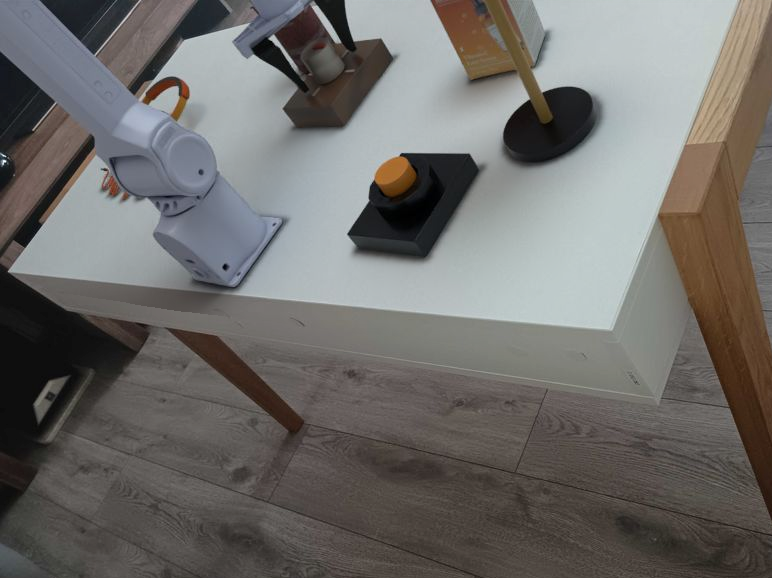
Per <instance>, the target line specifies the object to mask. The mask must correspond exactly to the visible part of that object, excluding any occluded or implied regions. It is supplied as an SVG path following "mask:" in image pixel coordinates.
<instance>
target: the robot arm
mask: <svg viewBox="0 0 772 578" xmlns="http://www.w3.org/2000/svg"><path fill="white" fill-rule="evenodd" d="M250 1H251V2H252V4H253V5H254V6H253V5H252V4H251V5H252V6H253V8H254V7H255V8H256V9H257V10H256V9H255V8H254V9H255V10H256V12H257V11H258V12H259V13H258V12H257V15H256V16H255V17H254V19H252V20H251V22H250V23H249V24H248V25H247V26H246V27H245V28H244V29H243V30H242V31H241V32H240V34H238V35H237V36H236V37H235V38H234V39H233V40H232V41H231V43H232V44H233V46H234V47H235V48H236V49H237V51H238V52H239V54H240V55H241V56H242V57H243V58H245V59H246V60H248V59H250V58H251V57H252V56H253V55H254V56H255V57H257V58H258V59H259V60H261V61H263V62H265V64H268V65H269V66H271V67H273V68H275V69H276V70H277V71H279V72H281V73H282V74H283V75H284V76H286V77H287V78H288V80H290V81H291V82H292V83H293V84H294V85H295V86H296V87H297V89H298V88H299V89H300V90H301V91H303V92H304V93H306V92H307V91H308V90H309V88H308V87H307V85H306V84H305V82H304V80H303V79H302V78H301V76H300V75H299V74H298V73H297V71H296V70H295V69H294V67H293V66H292V65H291V62H290V61H289V60H288V58H287V57H286V55H285V54H284V52H283V50H282V49H281V47H280V46H278V45H276V44H275V43H274V41H273V40H271V39H270V38H271V37H273V36H275V35H274V34H275V33H276V32H277V31H278V30H280V29H281V28H282V27H283V26H284V25H285V24H287V23H288V22H289V21H290V20H291V19H293V18H294V17H296V16H297V15H298V14H299V13H300V12H302V11H303V10H304V9H305V8H306V7H307V6H308V5H309V4H310V5H311V4H312V3H313V2H314V4H316V6H317V7H318V9H319V10H320V12H321V13H322V14H323V16H324V17H325V18H326V20H328V23H329V24H330V26H331V27H332V29H333V30H334V32H335V35H336V36H337V37H338V39H339V41H340V43H342V44H343V45H344V46H345V48H346V49H347V50H349V51H351V52H354V51H356V50H357V48H356V46H355V43H354V41H355V40H354V39H353V35H352V32H351V29H350V25H349V22H348V17H347V10H346V9H347V8H346V0H250ZM250 1H249V2H250ZM251 2H250V3H251ZM0 53H1V54H2V55H3V56H4V57H6V58H7V59H8V60H9V61H10V62H11V63H12V64H13V65H14V66H15V67H17V68H18V69H19V70H20V71H21V72H22V73H23V74H24V75H25V76H27V77H28V78H29V79H30V81H32V82H33V83H34V84H36V86H38V88H39V89H41V90H42V91H43V92H44V93H45V94H46V95H48V97H49V98H51V99H52V100H53V101H54V102H55V103H56V104H57V105H59V106H60V107H61V108H62V109H63V110H64V111H65V112H66V113H67V114H68V115H70V117H72V118H73V119H74V120H75V121H76V122H77V123H79V125H81V126H82V127H83V128H84V129H85V130H86V131H87V132H88V134H90V135H92V136H93V138H94V154H95V155H96V156H97V157H98V158H99V159H100V160H102V162H103V163H104V164H105V165H106V166H107V169H108V170H109V172H110V173H111V176H113V177H112V178H114V182H116V183H117V185H118V186H119V187H120V188H119V189H121V190H122V191H123V192H124V193H125V192H126V193H128V195H130V196H132V197H134V198H137V197H138V198H139V199H147V200H149V202H150V203H152V204H153V206H154V208H155V209H156V210H157V211H158V212H159V213H160V216H159V220H158V223H157V225H156V227H155V229H154V230H153V232H152V236H153V238H154V240H155V241H156V243H157V244H158V245H159V246H160V247H161V248H162V249H163V250H165V252H166V253H167V254H169V255H170V256H171V257H172V258H173V259H174V260H176V261H177V262H178V263H179V264H180V265H181V266H182V267H183V268H184V269H185V270H186V271H188V272H189V274H191V275H192V279H194V280H195V281H199V282H204V283H209V284H215V285H219V286H225V287H231V288H235V287H238V285H239V284H240V283H241V282H242V280H243V278H244V277H245V276H246V274H247V273H248V271H249V270H250V269H251V267H252V266H253V264H255V262H256V260H257V259H258V258H259V256H260V255H261V253H262V252H263V250H264V249H265V247H266V246H267V245H268V243H269V242H270V241H271V239H272V238H273V237H274V235H275V234H276V232H277V231H278V230H279V228H280V227H281V225H282V224H283V220H282V218H280V217H272V216H263V215H262V216H261V215H259V214H258V213H257V212H256V210H254V209H253V208H252V206H250V205H249V204H248V202H247V201H246V200H245V199H244V198H243V197H242V196H241V195H240V193H239V192H238V191H237V190H236V189H235V188H234V187H233V186H232V185H231V184H230V183H229V181H228V180H226V179H225V177H224V176H223V175H222V174H221V172H220V171H219V170H218V165H217V163H218V162H217V158H216V154H215V151H214V149H213V148H212V146H211V144H210V143H209V141H208V140H207V139H206V138H205V137H204V136H203V135H201V134H199V133H197V132H196V131H194V130H191V129H188V128H186V127H184V126H182V125H181V124H180V123H178V121H177V122H176V121H175V120H174V119H173V118H172V117H171V114H169V113H168V114H169V115H168V114H166V113H167V112H166V113H164V112H165V111H164V112H162V111H163V110H161V111H160V109H157V108H155V107H153V106H151V105H150V104H149V105H146V104H144V103H142V102H141V101H140V100H139V99H138V98H137V97H136V96H135V95H134V94H133V93H132V92H131V91H130V90H129V89H128V88H127V87H126V86H125V85H124V84H123V83H122V81H120V80H119V79H118V78H117V77H116V76H115V74H113V73H112V72H111V71H110V70H109V69H108V68H107V67H106V66H105V65H104V63H102V62H101V61H100V60H99V59H98V58H97V57H96V56H95V55H94V54H93V53H92V52H91V51H90V50H89V48H87V47H86V46H85V45H84V44H83V42H81V41H80V40H79V39H78V38H77V37H76V36H75V35H74V34H73V32H71V31H70V30H69V29H68V28H67V26H65V25H64V24H63V23H62V21H60V20H59V18H58V17H57V16H56V15H55V14H53V12H52V11H50V9H49V8H47V6H46V5H45V4H44V3H43V2H42V1H41V0H0ZM118 186H117V187H118ZM138 198H137V199H138Z"/></svg>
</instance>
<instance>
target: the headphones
mask: <svg viewBox="0 0 772 578" xmlns="http://www.w3.org/2000/svg"><path fill="white" fill-rule="evenodd" d="M173 87H178V92H177V93H178V97H179V98H178V100H177V103H176V106H175V107H174V109H173V111H172V113H171V114H170V113H168V112H166V111H164V110H160V109H159V110H160V111H162V112H164V113H166V114H168V115H170V116H171V117H172V118H173V119H174V120H175V121H176V122H177V123H178V121H179V119H180V117H181V116H182V114H183V112H184V110H185V107H186V105H187V102H188V100H190V97H191V96H190V95H191V91H190V86H189V85H188V84H187V82H185V81H184V80H183V79H181V78H179V77H177V76H166V77H164V78H161V79H159V80H158V81H157V82H154V84H152V85H151V86H150V87H149V88H148V89H147V90H146V92H145V95H144V97H143V98H142V100H141V101H140V102H142V103H144V104H146V105H149V106H150V104H151V103H152V101H155V100H156V99H157V98H158V97H159V96H160V95H161V94H163V92H165V91H166V90H168V89H170V88H173ZM100 171H103V172H106V174H105V177H104V179H103V180H102V182H101V189H106V188H108V187H110V188H109V191H108V194H109V195H112V196H113V197H115V196H116V195H117V193H118V192H119V190H120V189H121V188H120V187H119V186H118V185H117V183H116V182H115V180H114V178H113V176H112V175H110V178H109V180H108V181H107V183H106V185H105V186H104V184H105V182H106V180H107V178H108V176H109V174H110V169H109V168H108V167H107V168H106V167H103V168H102V167H100ZM128 195H129V194H128V193H126V192H124V193H123V195H122V200H123V201H124V200H125V199H126V198H127V197H128ZM136 198H137V199H138V197H136Z"/></svg>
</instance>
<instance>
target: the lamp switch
mask: <svg viewBox="0 0 772 578" xmlns="http://www.w3.org/2000/svg"><path fill="white" fill-rule="evenodd" d="M416 178H417V174H416V172H415V171H414V169H413V168H412V166H411V165H410V163H409V162H408V160H407V159H406V158H405V157H399V156H394V157H392V158H389V159H388V160H386V161H385V162H383V163H382V164H381V165H380V166H379V167H378V169H377V170H376V172H375V173H374V179H375V182H376V183H377V185H378V186H379V187H380V189H381V190H382V192H383V193H384V194H385V195H386V196H387V197H394V196H397V195H400V194H402V193H403V192H405V191H406V190H407V189H408V188H410V187H411V186H412V185H413V183H414V182H415V180H416ZM374 179H373V180H374Z"/></svg>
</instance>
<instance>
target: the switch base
mask: <svg viewBox="0 0 772 578" xmlns="http://www.w3.org/2000/svg"><path fill="white" fill-rule="evenodd" d="M398 157H405V158H406V159H407V160H408V162H409V163H410V165H411V166H412V168H413V169H414V171H415V172H416V174H417V178H416V180H415V182H414V183H413V185H412V186H411V187H410V188H408V189H407V190H406V191H405V192H403V193H402V194H400V195H397V196H394V197H387V196H386V195H385V194H384V193H383V192H382V190H381V189H380V187H379V186H378V185H377V183H376V182H375V179H373V180H372V182H371V184H369V189H368V202H367V203H366V204H365V206H364V208H363V209H362V211H361V212H360V213H359V215H358V216H357V218H356V220H355V222H354V223H353V224H352V226H351V227H350V229H349V230H348V232H347V233H346V235H347V237H348V238H349V239H350V240H351V242H352V243H353V244H354V245H355V246H356V247H357V249H359V250H367V251H374V252H384V253H391V254H400V255H409V256H417V257H427V256H428V255H429V253H430V252H431V249H432V248H433V246H434V245H435V243H436V241H437V240H438V238H439V237H440V236H441V234H442V232H443V230H444V228H445V226H446V225H447V223H448V222H449V220H450V218H451V217H452V215H453V213H454V212H455V210H456V208H457V207H458V206H459V204H460V202H461V200H462V199H463V197H464V196H465V194H466V192H467V191H468V189H469V187H470V185H472V182H473V181H474V180H475V177H476V176H477V174H478V173H479V171H480V168H479V166H478V165H477V163H476V162H475V160H474V157H473V156H472V155H471V153H469V152H468V153H466V152H465V153H461V152H459V153H458V152H456V153H455V152H454V153H453V152H441V153H440V152H401V153H400V154H399V156H398Z"/></svg>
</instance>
